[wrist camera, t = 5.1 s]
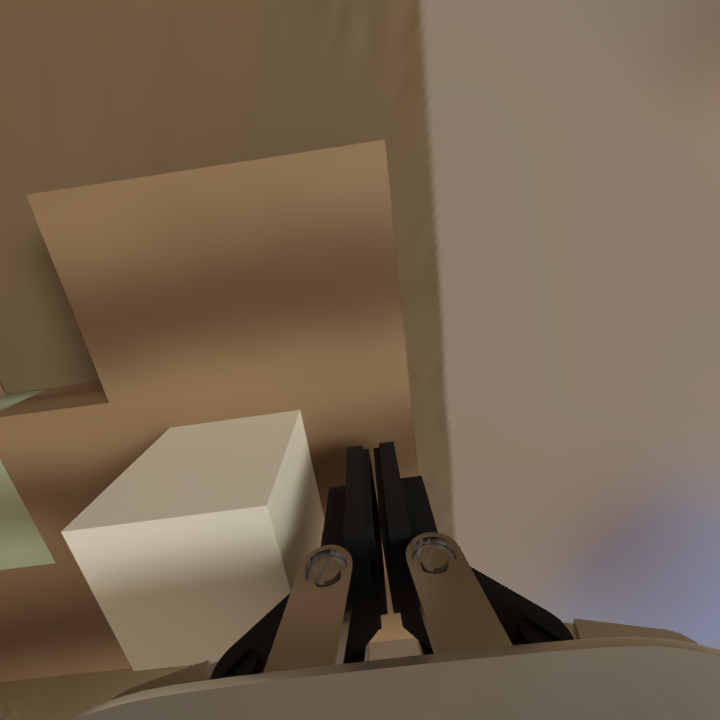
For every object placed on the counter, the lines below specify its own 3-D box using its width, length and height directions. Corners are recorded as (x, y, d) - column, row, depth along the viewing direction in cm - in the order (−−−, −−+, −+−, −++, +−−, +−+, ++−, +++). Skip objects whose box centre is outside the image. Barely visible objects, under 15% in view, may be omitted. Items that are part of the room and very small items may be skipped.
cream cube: (169, 427, 13) (60, 531, 8) (300, 409, 13) (266, 505, 8) (207, 532, 14) (133, 671, 10) (324, 517, 14) (307, 651, 10)
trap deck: (-246, 258, 14) (-564, 263, 9) (378, 163, 13) (391, 114, 8) (-4, 626, 20) (-115, 743, 15) (422, 578, 19) (444, 685, 15)
